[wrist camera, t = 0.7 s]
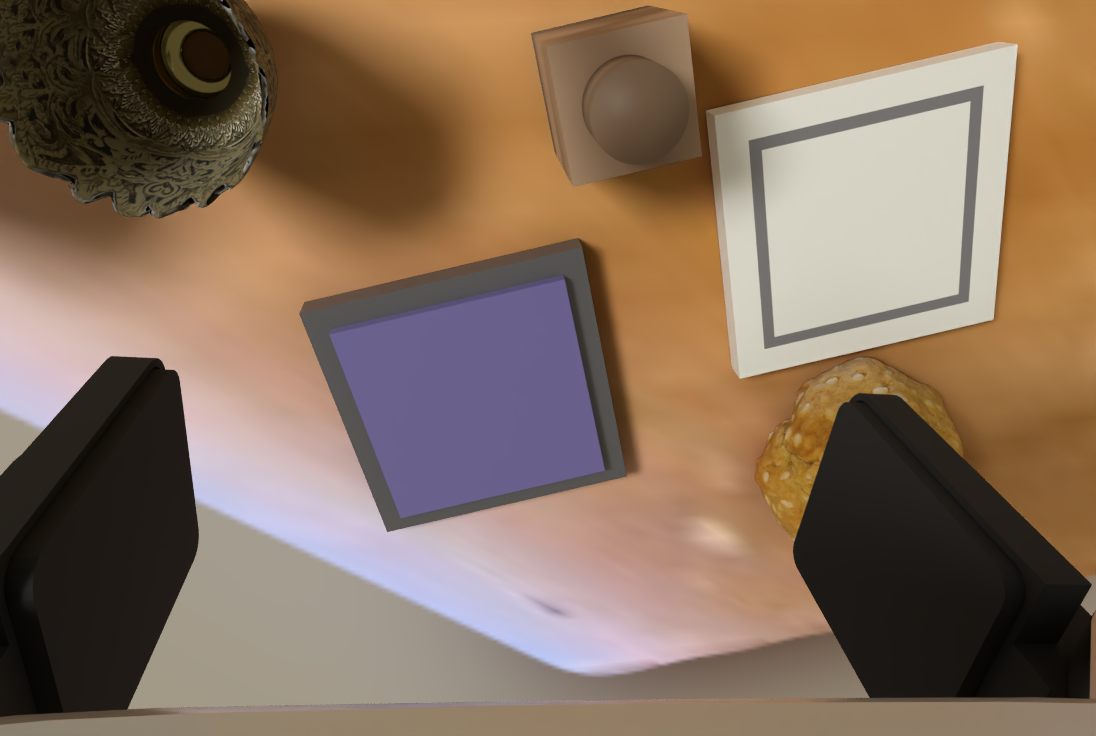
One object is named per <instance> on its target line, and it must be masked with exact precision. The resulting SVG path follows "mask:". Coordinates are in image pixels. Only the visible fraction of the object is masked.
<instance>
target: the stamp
mask: <svg viewBox="0 0 1096 736" xmlns="http://www.w3.org/2000/svg"><path fill="white" fill-rule="evenodd" d="M531 35H532V40H533V45H534V50H535V55H536V60H537V65H538V70H539V75H540V80H541V85H542V90H543V95H544V100H545V105H546V110H547V115H548V120H549V125H550V130H551V135H552V140H553V145H554V150H555V153H556V155H557V157H558V159H559V161H560V163H561V165H562V167H563V169H564V171H565V172H566V174H567V176H568V178H569V180H570V182H571V184H572V186H573V187H575V186H579V185H584V184H588V183H592V182H596V181H601V180H605V179H609V178H613V177H618V176H622V175H626V174H630V173H635V172H639V171H643V170H647V169H652V168H656V167H660V166H664V165H669V164H673V163H677V162H681V161H686V160H690V159H694V158H698V157H702V151H701V141H700V132H699V122H698V113H697V104H696V94H695V85H694V76H693V66H692V57H691V47H690V38H689V29H688V19H687V14H686V13H681V12H676V11H671V10H667V9H662V8H657V7H652V6H644V7H640V8H636V9H632V10H627V11H623V12H619V13H615V14H610V15H606V16H602V17H598V18H593V19H589V20H585V21H581V22H576V23H572V24H568V25H564V26H559V27H555V28H551V29H547V30H543V31H538V32H534V33H531Z"/></svg>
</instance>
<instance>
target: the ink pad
mask: <svg viewBox="0 0 1096 736" xmlns="http://www.w3.org/2000/svg"><path fill="white" fill-rule="evenodd" d="M299 314H300V317H301V319H302V322H303V324H304V327H305V329H306V331H307V334H308V336H309V339H310V341H311V344H312V346H313V349H314V351H315V354H316V356H317V359H318V361H319V364H320V366H321V369H322V371H323V374H324V376H325V379H326V381H327V383H328V386H329V388H330V391H331V393H332V396H333V398H334V401H335V403H336V406H337V408H338V411H339V413H340V416H341V418H342V421H343V423H344V426H345V428H346V431H347V433H348V435H349V438H350V440H351V443H352V445H353V448H354V450H355V453H356V455H357V458H358V460H359V463H360V465H361V468H362V470H363V473H364V475H365V478H366V480H367V483H368V485H369V487H370V490H371V492H372V495H373V497H374V500H375V502H376V505H377V507H378V510H379V512H380V515H381V517H382V520H383V522H384V525H385V527H386V530H387V532H389V531H394V530H398V529H402V528H406V527H411V526H415V525H419V524H424V523H428V522H432V521H437V520H441V519H445V518H449V517H454V516H458V515H462V514H467V513H471V512H475V511H479V510H484V509H488V508H492V507H497V506H501V505H505V504H510V503H514V502H518V501H522V500H527V499H531V498H535V497H540V496H544V495H548V494H553V493H557V492H561V491H565V490H570V489H574V488H578V487H583V486H587V485H591V484H596V483H600V482H604V481H608V480H613V479H617V478H621V477H626V470H625V465H624V460H623V455H622V450H621V445H620V440H619V434H618V429H617V424H616V419H615V414H614V409H613V404H612V398H611V393H610V388H609V383H608V378H607V373H606V368H605V362H604V357H603V352H602V347H601V342H600V337H599V331H598V326H597V321H596V316H595V311H594V306H593V301H592V295H591V290H590V285H589V280H588V275H587V270H586V265H585V259H584V254H583V249H582V246H581V244H580V241H579V239H578V238H577V239H573V240H568V241H564V242H560V243H555V244H551V245H547V246H543V247H538V248H534V249H530V250H526V251H521V252H517V253H513V254H509V255H504V256H500V257H496V258H491V259H487V260H483V261H479V262H474V263H470V264H466V265H462V266H457V267H453V268H449V269H445V270H440V271H436V272H432V273H428V274H423V275H419V276H415V277H410V278H406V279H402V280H398V281H393V282H389V283H385V284H381V285H376V286H372V287H368V288H364V289H359V290H355V291H351V292H346V293H342V294H338V295H334V296H329V297H325V298H321V299H317V300H312V301H308V302H304V304H303V307H302V309H301V311H300V313H299Z"/></svg>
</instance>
